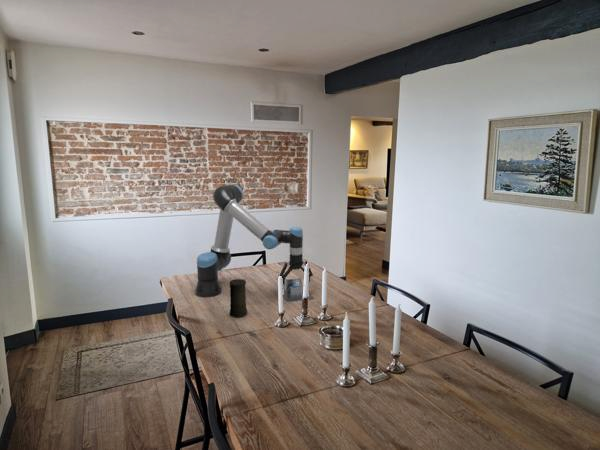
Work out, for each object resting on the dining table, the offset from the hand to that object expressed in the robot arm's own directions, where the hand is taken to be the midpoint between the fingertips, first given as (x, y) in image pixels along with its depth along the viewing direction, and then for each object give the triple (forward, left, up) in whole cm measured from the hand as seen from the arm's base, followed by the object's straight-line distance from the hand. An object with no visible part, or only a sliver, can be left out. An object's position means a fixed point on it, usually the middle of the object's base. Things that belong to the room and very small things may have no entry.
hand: (296, 288), depth 233 cm
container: (+20, -37, -4) cm, 42 cm away
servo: (0, 0, -3) cm, 3 cm away
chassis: (0, 0, -4) cm, 4 cm away
